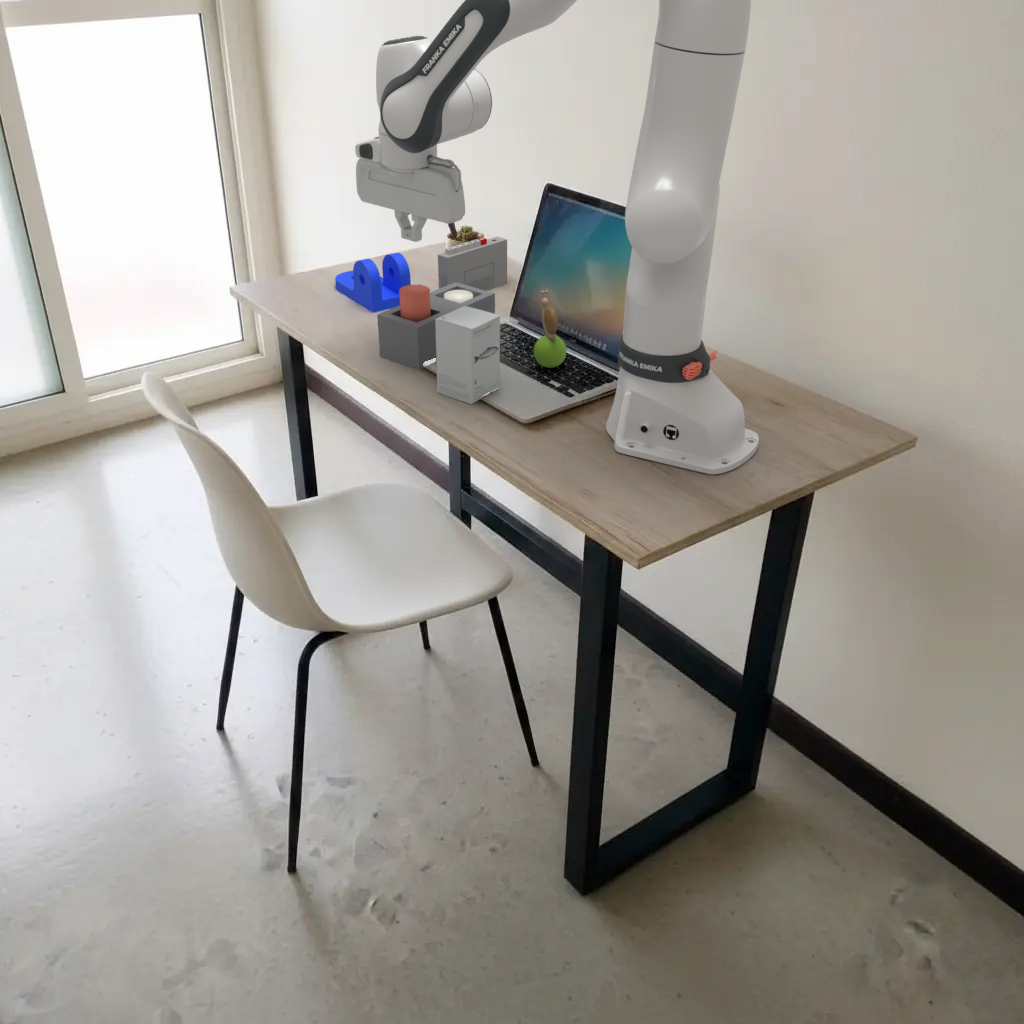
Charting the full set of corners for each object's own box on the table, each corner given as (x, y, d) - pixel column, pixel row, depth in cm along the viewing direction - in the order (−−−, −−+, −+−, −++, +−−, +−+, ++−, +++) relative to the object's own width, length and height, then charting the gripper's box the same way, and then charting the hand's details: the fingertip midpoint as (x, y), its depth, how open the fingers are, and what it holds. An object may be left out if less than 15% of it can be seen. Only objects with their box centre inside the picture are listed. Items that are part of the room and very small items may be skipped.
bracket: (411, 304, 200) (409, 258, 195) (373, 313, 196) (370, 266, 191) (365, 277, 212) (362, 233, 207) (328, 285, 208) (324, 240, 203)
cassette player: (497, 280, 211) (497, 231, 206) (507, 284, 209) (507, 234, 204) (439, 300, 201) (437, 249, 196) (448, 304, 200) (447, 252, 195)
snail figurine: (557, 355, 179) (559, 288, 173) (570, 370, 174) (573, 301, 168) (527, 359, 178) (528, 291, 172) (539, 374, 173) (541, 305, 166)
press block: (494, 333, 187) (494, 293, 183) (419, 370, 174) (417, 327, 170) (456, 321, 192) (455, 282, 188) (379, 356, 179) (377, 314, 175)
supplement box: (472, 405, 163) (471, 329, 156) (436, 393, 167) (433, 317, 160) (501, 389, 168) (501, 314, 161) (465, 377, 172) (464, 303, 165)
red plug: (437, 326, 177) (436, 289, 174) (417, 335, 174) (415, 297, 170) (415, 319, 180) (413, 282, 176) (395, 328, 176) (393, 290, 173)
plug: (479, 329, 187) (478, 294, 183) (460, 337, 183) (460, 302, 180) (457, 322, 189) (456, 287, 186) (439, 330, 186) (438, 295, 182)
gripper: (473, 158, 158) (474, 248, 166) (375, 137, 169) (380, 222, 176) (446, 166, 154) (447, 258, 161) (347, 144, 164) (353, 231, 172)
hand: (411, 239), depth 169 cm, fingers closed
